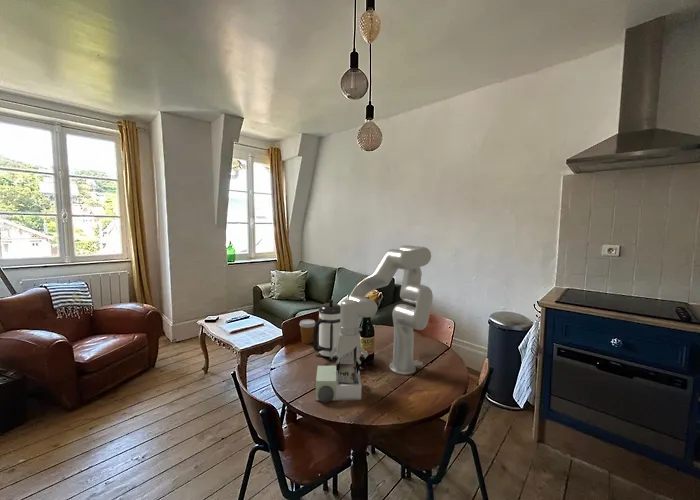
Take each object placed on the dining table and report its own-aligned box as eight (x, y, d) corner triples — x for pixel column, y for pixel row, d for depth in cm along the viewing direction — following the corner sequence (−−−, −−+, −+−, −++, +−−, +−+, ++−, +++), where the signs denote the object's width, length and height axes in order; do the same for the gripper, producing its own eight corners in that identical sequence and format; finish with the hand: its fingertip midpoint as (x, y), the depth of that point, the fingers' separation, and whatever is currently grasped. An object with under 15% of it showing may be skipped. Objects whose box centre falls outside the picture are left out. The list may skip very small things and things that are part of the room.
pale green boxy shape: (358, 381, 137) (358, 364, 136) (361, 402, 121) (362, 383, 120) (317, 381, 136) (317, 364, 135) (315, 402, 120) (315, 383, 119)
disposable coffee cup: (314, 345, 176) (314, 324, 175) (297, 344, 176) (298, 324, 175) (316, 338, 186) (316, 319, 185) (300, 338, 186) (300, 318, 185)
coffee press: (314, 349, 170) (315, 296, 167) (343, 349, 171) (344, 296, 168) (312, 363, 153) (313, 304, 150) (344, 363, 154) (346, 304, 151)
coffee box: (353, 384, 123) (357, 343, 124) (338, 381, 124) (341, 341, 125) (356, 376, 132) (359, 338, 133) (341, 374, 133) (344, 336, 134)
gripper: (369, 327, 130) (367, 367, 132) (328, 327, 129) (327, 367, 131) (371, 333, 123) (369, 376, 124) (327, 333, 122) (326, 376, 123)
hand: (348, 371), depth 128 cm, fingers closed on coffee box, 7 cm apart
